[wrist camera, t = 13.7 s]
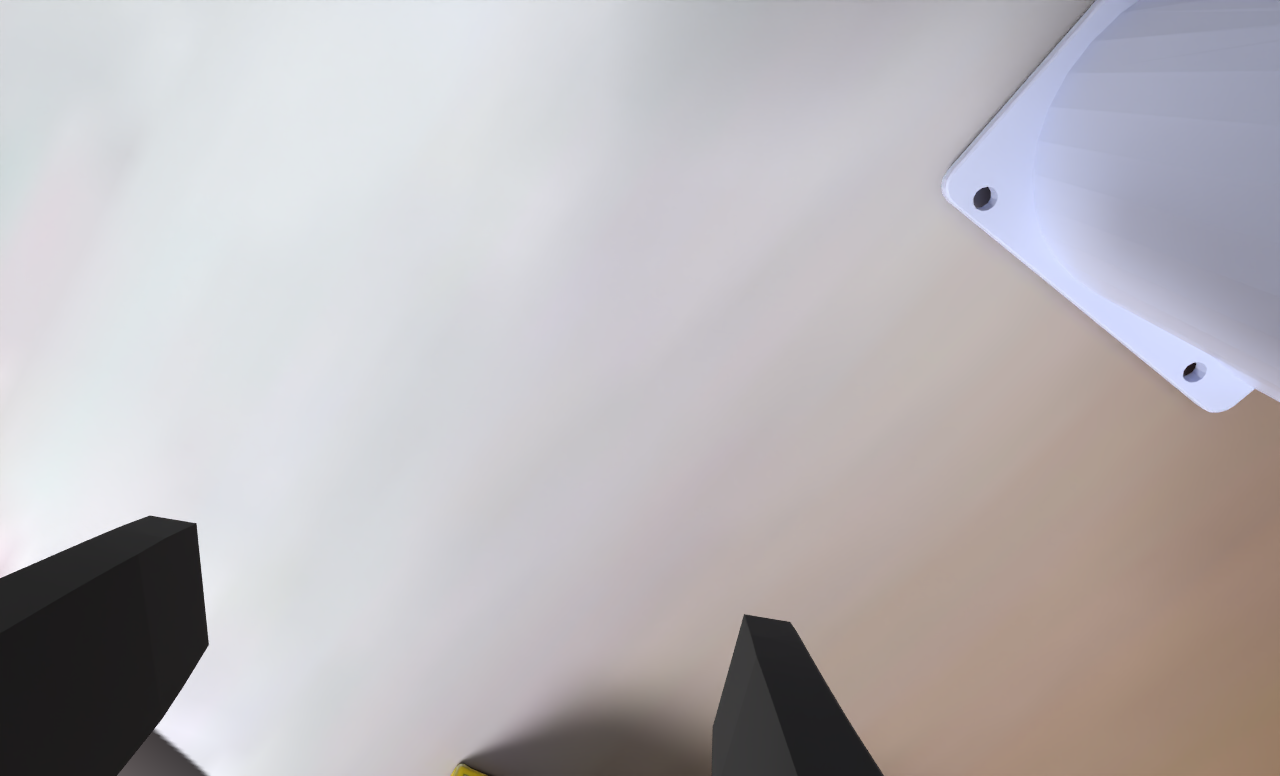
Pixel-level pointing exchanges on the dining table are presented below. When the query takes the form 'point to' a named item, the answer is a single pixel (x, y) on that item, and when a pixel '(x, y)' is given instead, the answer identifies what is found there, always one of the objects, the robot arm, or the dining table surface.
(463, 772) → the candy box
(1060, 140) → the robot arm
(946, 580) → the dining table surface
